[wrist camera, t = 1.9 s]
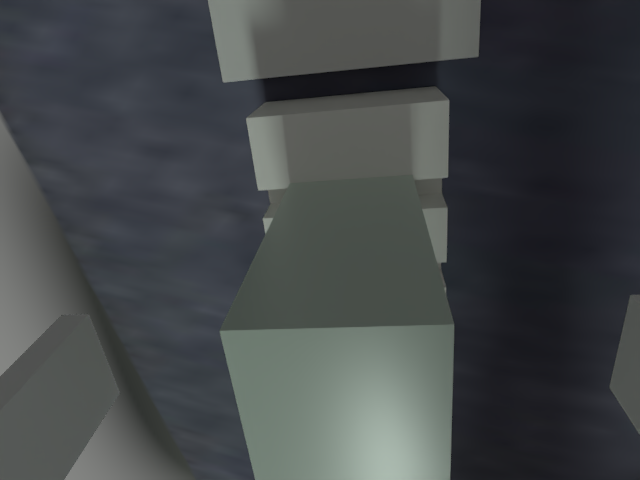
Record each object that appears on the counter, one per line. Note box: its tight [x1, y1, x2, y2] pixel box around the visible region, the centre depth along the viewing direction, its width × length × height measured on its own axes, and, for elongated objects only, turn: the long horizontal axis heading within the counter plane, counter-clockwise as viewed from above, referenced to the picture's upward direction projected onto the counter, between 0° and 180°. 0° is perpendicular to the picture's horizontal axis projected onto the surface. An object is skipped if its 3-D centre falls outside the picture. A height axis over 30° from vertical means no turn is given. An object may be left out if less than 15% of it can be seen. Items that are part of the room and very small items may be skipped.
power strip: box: [246, 86, 449, 293], centre depth 21 cm, size 20×7×4 cm, turn 6°
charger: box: [220, 175, 454, 480], centre depth 14 cm, size 5×4×10 cm
